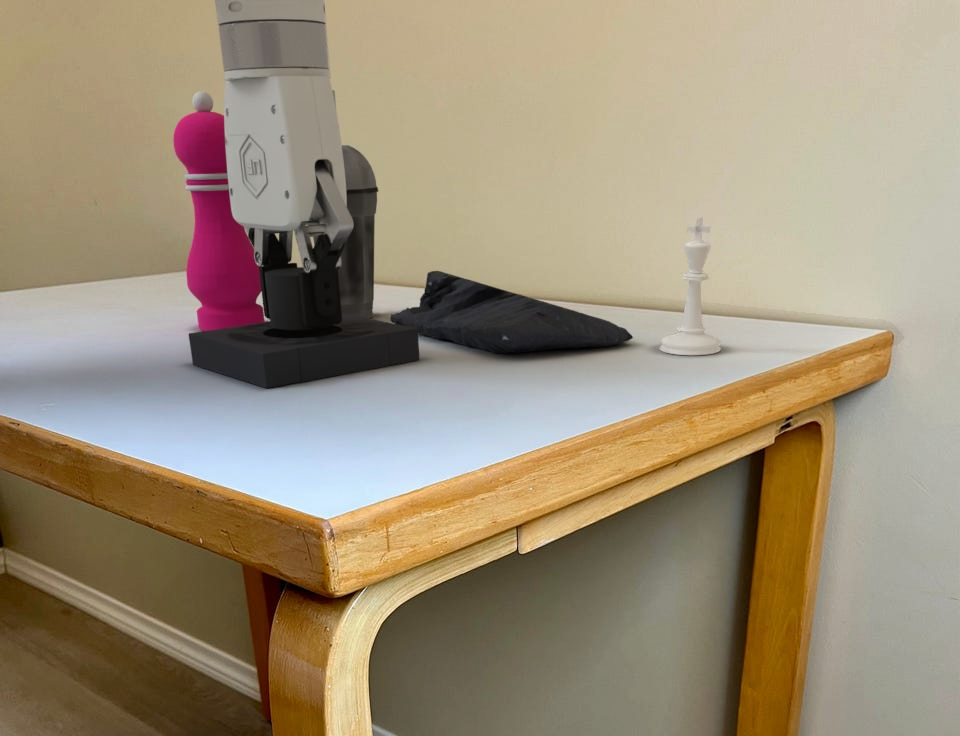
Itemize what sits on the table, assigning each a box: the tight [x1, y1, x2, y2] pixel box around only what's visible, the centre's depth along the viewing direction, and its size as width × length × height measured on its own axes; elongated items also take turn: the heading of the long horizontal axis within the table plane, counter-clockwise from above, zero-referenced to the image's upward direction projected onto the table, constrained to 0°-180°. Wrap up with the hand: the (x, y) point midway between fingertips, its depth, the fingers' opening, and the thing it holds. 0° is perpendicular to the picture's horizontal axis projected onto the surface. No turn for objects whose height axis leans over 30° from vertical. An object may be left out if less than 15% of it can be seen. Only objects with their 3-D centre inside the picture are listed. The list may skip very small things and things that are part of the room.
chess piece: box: [659, 216, 722, 356], centre depth 80 cm, size 5×5×10 cm
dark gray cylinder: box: [265, 266, 335, 330], centre depth 79 cm, size 5×5×4 cm
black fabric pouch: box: [389, 270, 634, 354], centre depth 89 cm, size 15×22×5 cm
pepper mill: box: [172, 90, 265, 331], centre depth 93 cm, size 7×7×20 cm
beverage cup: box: [312, 89, 379, 319], centre depth 96 cm, size 7×7×20 cm
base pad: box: [188, 314, 420, 389], centre depth 81 cm, size 14×12×2 cm
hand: (302, 318), depth 80 cm, fingers closed on dark gray cylinder, 5 cm apart
